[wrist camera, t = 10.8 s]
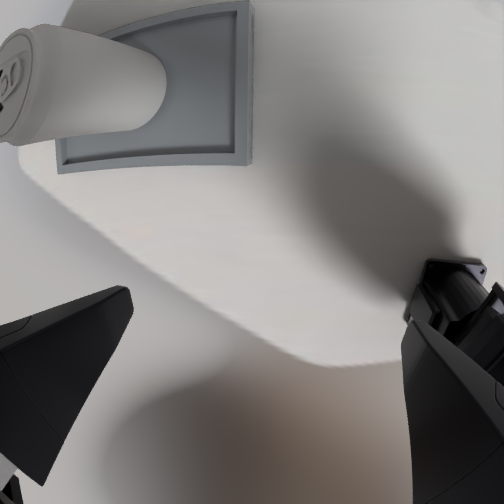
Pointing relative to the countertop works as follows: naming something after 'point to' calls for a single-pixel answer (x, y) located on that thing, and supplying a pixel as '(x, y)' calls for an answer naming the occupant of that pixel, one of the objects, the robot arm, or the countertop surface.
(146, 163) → the tray
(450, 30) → the countertop surface
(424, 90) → the countertop surface
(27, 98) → the beverage can
